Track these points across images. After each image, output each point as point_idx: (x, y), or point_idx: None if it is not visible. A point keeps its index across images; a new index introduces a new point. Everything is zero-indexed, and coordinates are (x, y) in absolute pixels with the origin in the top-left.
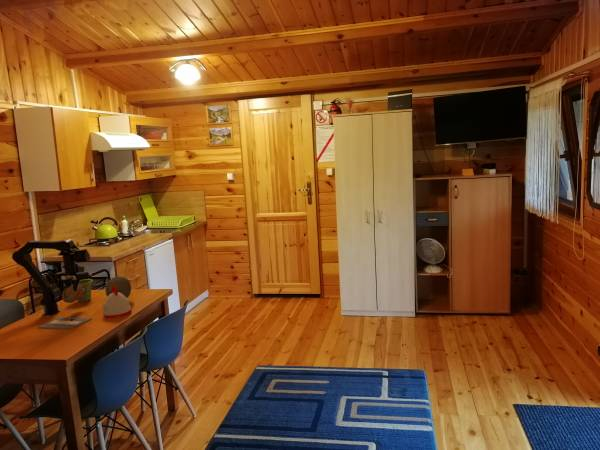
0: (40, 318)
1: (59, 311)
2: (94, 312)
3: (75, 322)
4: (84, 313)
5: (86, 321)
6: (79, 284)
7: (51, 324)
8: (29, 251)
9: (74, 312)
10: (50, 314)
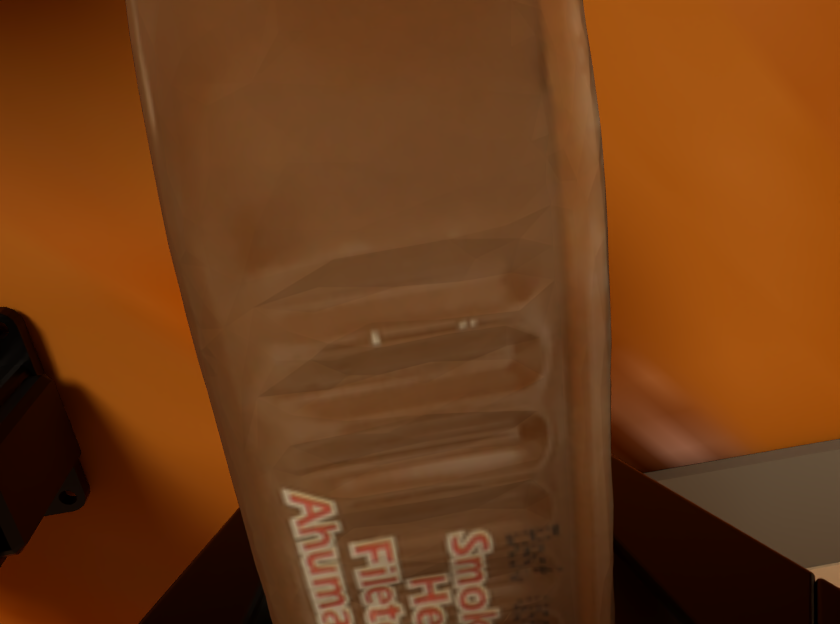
0: (35, 615)
1: (27, 339)
2: (795, 161)
3: None
4: (628, 253)
5: None
6: (529, 194)
7: None
8: None
9: None
10: (52, 505)
